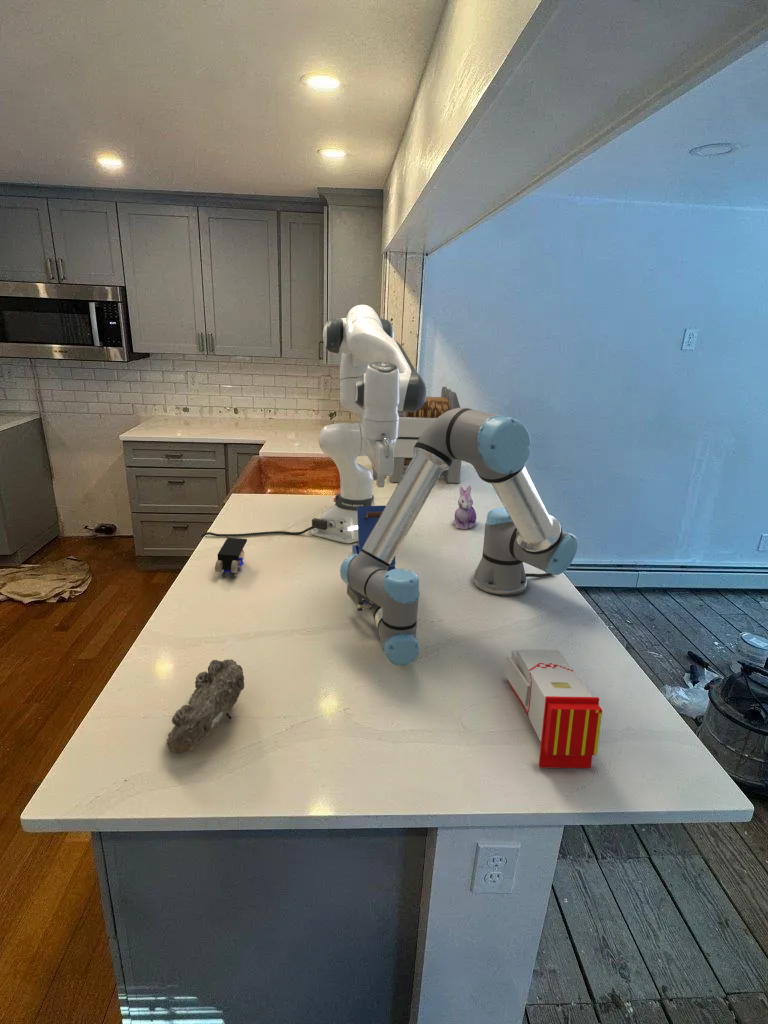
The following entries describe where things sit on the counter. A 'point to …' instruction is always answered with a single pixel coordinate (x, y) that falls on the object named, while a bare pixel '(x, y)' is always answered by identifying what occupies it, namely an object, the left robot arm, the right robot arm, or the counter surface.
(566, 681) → the toy
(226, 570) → the figurine character
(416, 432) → the transformer
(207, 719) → the fossil
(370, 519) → the lid
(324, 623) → the counter surface
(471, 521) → the figurine
